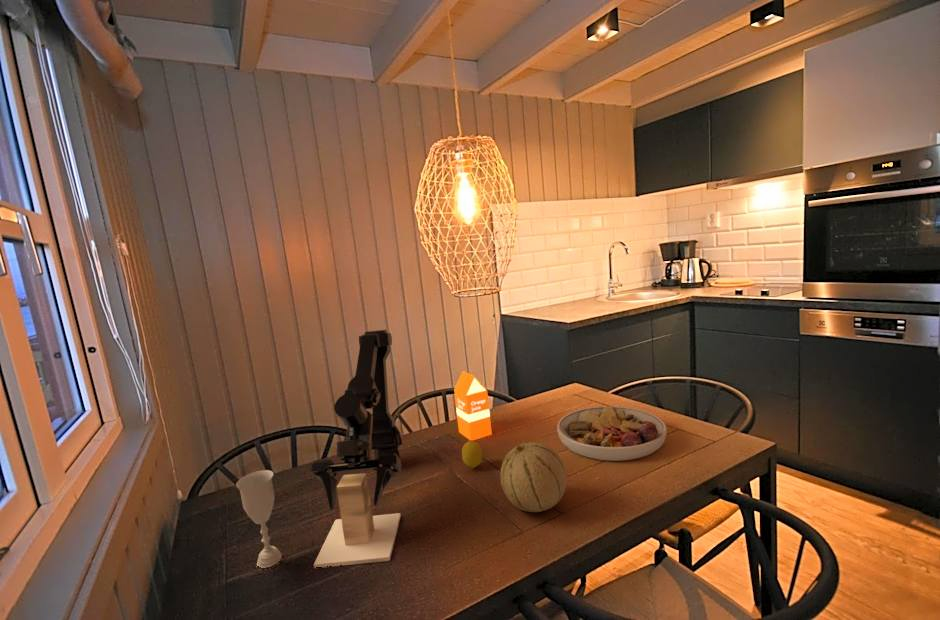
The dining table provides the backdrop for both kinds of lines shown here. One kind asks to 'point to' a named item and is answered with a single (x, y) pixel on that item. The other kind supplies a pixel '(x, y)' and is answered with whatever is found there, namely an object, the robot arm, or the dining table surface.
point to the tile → (373, 551)
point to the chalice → (260, 509)
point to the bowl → (612, 433)
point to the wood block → (355, 509)
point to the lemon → (472, 454)
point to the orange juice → (472, 407)
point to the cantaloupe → (533, 477)
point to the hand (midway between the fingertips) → (353, 507)
